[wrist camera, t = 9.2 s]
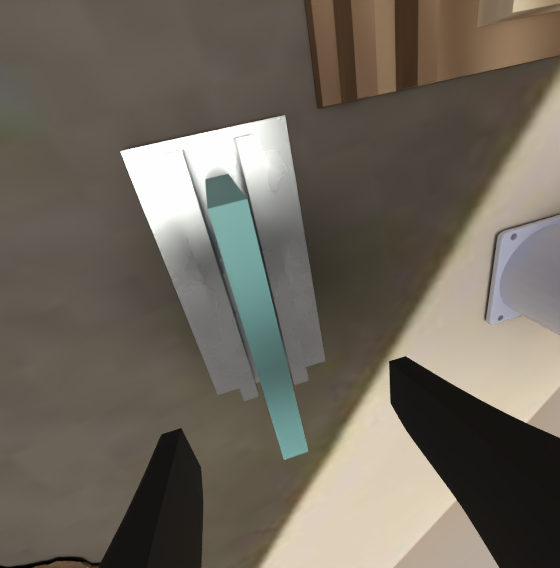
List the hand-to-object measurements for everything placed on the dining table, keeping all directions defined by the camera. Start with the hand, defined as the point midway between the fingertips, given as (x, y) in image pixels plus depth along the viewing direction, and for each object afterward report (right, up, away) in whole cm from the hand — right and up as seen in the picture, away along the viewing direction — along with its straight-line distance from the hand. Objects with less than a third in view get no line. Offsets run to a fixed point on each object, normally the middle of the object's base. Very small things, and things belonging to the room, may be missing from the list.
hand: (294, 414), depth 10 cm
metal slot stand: (-3, +5, +9) cm, 10 cm away
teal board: (-3, +5, +8) cm, 10 cm away
